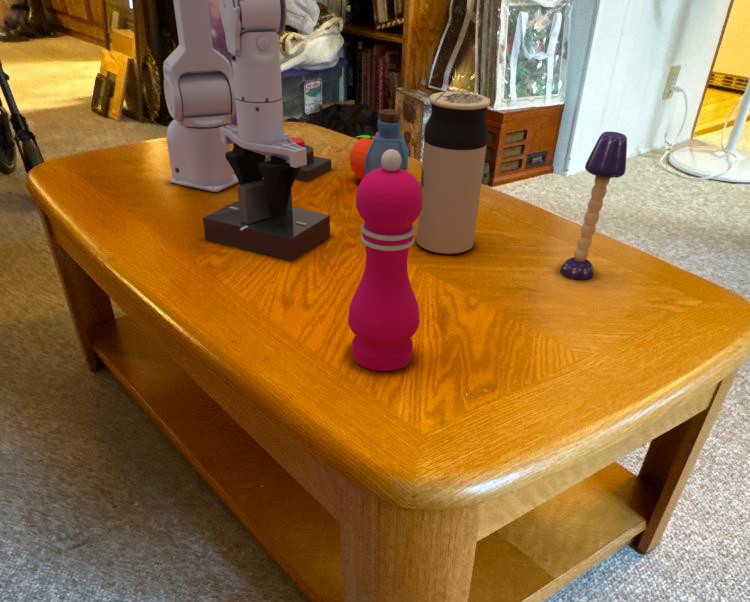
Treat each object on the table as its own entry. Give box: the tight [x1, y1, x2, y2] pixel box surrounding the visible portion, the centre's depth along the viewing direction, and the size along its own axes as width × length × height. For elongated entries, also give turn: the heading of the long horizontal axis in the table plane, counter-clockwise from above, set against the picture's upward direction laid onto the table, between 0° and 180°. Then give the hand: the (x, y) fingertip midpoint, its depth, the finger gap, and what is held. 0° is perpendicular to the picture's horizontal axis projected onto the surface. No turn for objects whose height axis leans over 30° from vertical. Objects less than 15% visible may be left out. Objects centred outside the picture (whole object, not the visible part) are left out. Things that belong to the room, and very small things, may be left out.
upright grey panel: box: [236, 179, 293, 224], centre depth 91 cm, size 8×2×5 cm, turn 138°
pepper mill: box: [347, 149, 423, 372], centre depth 65 cm, size 7×7×20 cm
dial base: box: [202, 200, 331, 262], centre depth 93 cm, size 14×12×3 cm
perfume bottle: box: [365, 108, 410, 176], centre depth 105 cm, size 6×6×12 cm
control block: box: [265, 144, 332, 183], centre depth 116 cm, size 10×8×4 cm
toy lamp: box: [560, 131, 628, 281], centre depth 83 cm, size 5×5×17 cm
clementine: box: [345, 134, 375, 181], centre depth 112 cm, size 8×7×7 cm
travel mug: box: [415, 91, 491, 255], centre depth 89 cm, size 8×8×18 cm
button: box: [289, 136, 306, 148], centre depth 114 cm, size 4×4×2 cm
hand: (266, 211), depth 92 cm, fingers open, 4 cm apart
